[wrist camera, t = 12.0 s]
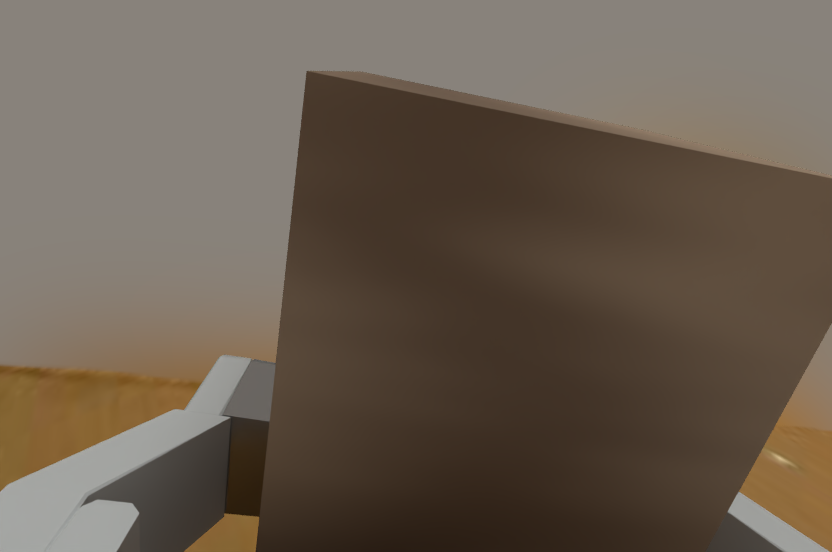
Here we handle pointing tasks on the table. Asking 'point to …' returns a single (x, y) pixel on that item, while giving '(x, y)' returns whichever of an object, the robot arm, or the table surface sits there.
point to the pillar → (528, 327)
